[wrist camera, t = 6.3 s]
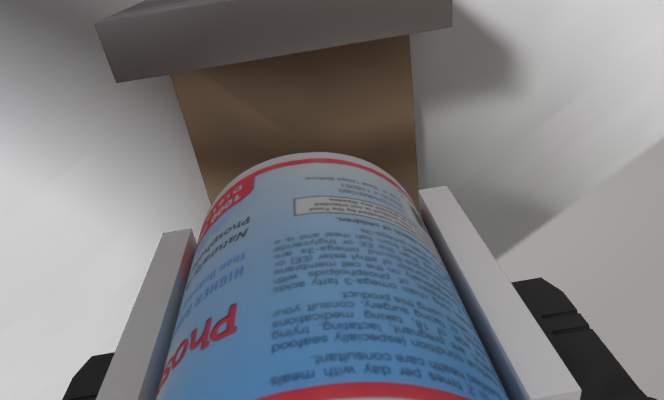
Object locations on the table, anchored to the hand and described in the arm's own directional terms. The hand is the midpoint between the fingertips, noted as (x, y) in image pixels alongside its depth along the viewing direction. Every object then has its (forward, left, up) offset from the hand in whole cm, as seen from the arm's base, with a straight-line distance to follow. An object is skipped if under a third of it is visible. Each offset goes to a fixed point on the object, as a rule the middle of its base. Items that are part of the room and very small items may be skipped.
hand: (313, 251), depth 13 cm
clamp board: (+3, 0, -14) cm, 15 cm away
